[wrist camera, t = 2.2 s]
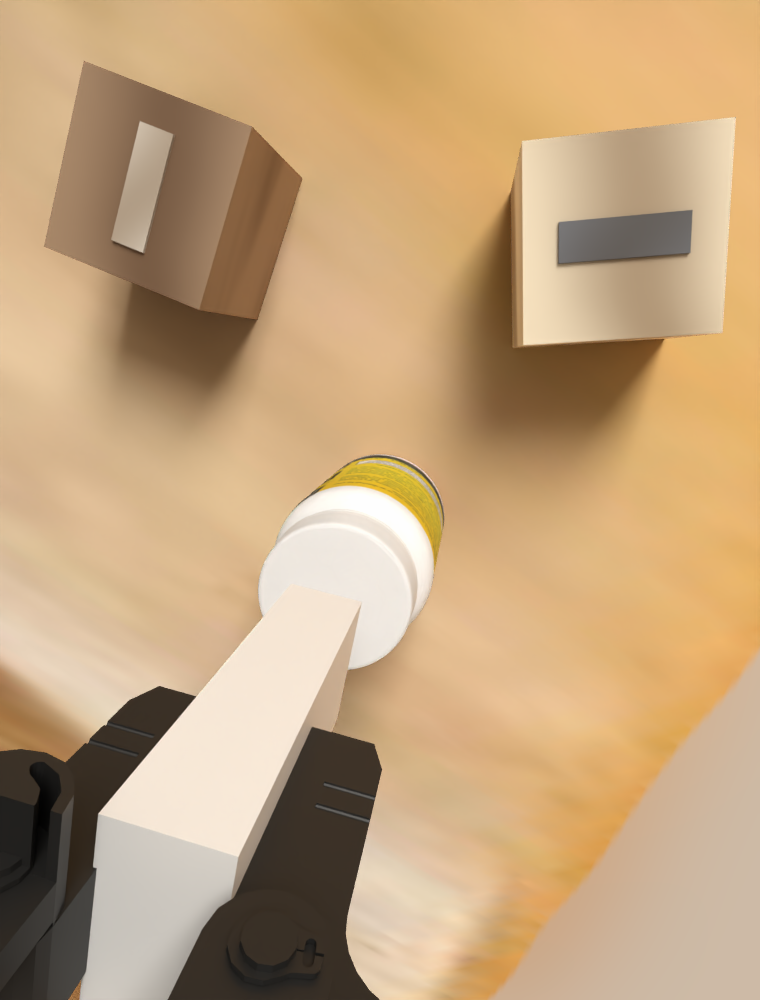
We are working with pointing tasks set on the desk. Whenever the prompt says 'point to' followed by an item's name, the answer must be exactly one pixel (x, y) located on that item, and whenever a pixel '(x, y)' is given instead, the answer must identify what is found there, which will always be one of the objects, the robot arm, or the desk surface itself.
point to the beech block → (621, 234)
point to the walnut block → (170, 196)
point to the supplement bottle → (363, 548)
